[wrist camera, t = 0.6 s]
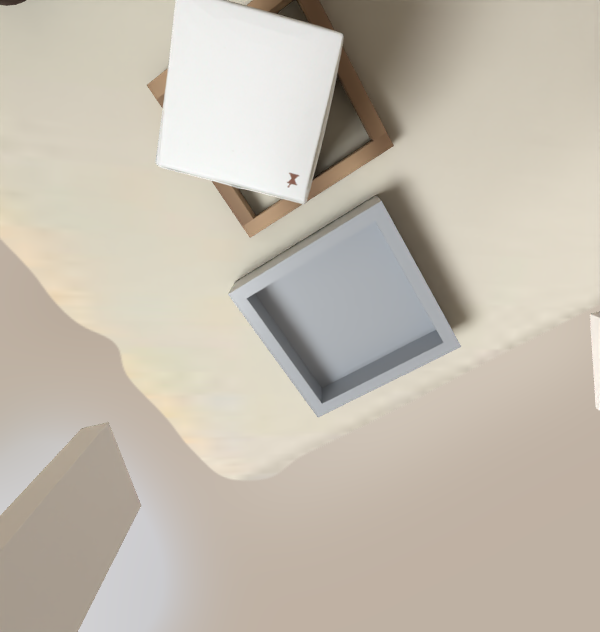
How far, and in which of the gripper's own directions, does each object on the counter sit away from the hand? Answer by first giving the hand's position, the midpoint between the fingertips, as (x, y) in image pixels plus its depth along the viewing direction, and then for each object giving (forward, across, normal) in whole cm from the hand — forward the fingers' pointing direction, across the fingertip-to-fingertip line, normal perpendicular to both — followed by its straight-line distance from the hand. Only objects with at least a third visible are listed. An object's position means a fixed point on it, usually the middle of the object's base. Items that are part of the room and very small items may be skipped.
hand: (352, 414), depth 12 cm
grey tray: (+24, +2, -3) cm, 24 cm away
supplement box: (+23, 0, +12) cm, 26 cm away
